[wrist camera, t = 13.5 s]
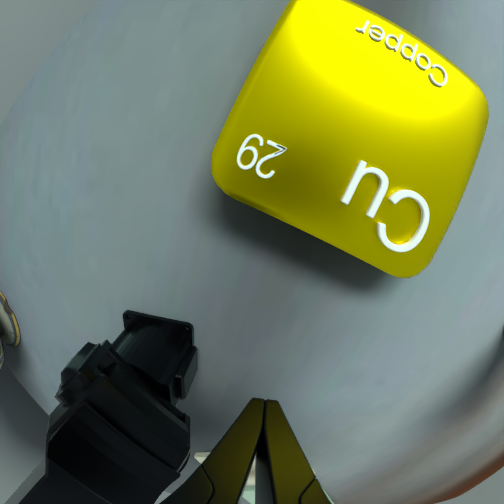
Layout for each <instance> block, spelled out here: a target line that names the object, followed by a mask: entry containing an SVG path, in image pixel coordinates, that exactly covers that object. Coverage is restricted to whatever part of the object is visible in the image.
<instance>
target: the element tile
mask: <svg viewBox="0 0 504 504" xmlns="http://www.w3.org/2000/svg"><path fill="white" fill-rule="evenodd" d="M488 118H489V110H488V103H487V100H486V98H485V95H484V94H483V92H482V90H481V89H480V87H479V86H478V85H477V84H476V83H475V82H474V81H473V80H472V79H471V78H470V77H469V76H468V75H467V74H466V73H464V72H463V71H462V70H461V69H460V68H458V67H457V66H456V65H455V64H453V63H452V62H451V61H450V60H448V59H447V58H446V57H444V56H443V55H442V54H440V53H439V52H438V51H436V50H435V49H434V48H432V47H431V46H429V45H428V44H426V43H425V42H424V41H422V40H421V39H419V38H418V37H416V36H414V35H413V34H411V33H410V32H408V31H407V30H405V29H403V28H402V27H400V26H398V25H397V24H395V23H393V22H391V21H390V20H388V19H386V18H384V17H382V16H380V15H379V14H377V13H375V12H373V11H371V10H369V9H367V8H365V7H363V6H361V5H358V4H356V3H354V2H352V1H350V0H291V1H290V2H289V3H288V5H287V6H286V8H285V10H284V11H283V13H282V15H281V16H280V18H279V20H278V22H277V23H276V25H275V27H274V29H273V30H272V32H271V34H270V36H269V37H268V39H267V41H266V43H265V45H264V47H263V48H262V50H261V52H260V54H259V56H258V58H257V60H256V61H255V63H254V65H253V67H252V69H251V71H250V73H249V75H248V77H247V79H246V81H245V83H244V85H243V87H242V89H241V91H240V93H239V95H238V97H237V99H236V101H235V103H234V105H233V108H232V110H231V112H230V114H229V116H228V118H227V120H226V122H225V125H224V127H223V129H222V131H221V133H220V136H219V138H218V140H217V142H216V145H215V147H214V149H213V152H212V157H211V173H212V175H213V178H214V180H215V183H216V184H217V185H218V186H219V187H220V188H221V190H222V191H223V192H224V193H226V194H227V195H229V196H230V197H232V198H233V199H235V200H238V201H240V202H242V203H244V204H246V205H249V206H251V207H253V208H255V209H257V210H260V211H262V212H264V213H266V214H268V215H270V216H273V217H275V218H277V219H279V220H281V221H283V222H285V223H288V224H290V225H292V226H294V227H296V228H298V229H300V230H302V231H304V232H306V233H308V234H311V235H313V236H315V237H317V238H319V239H321V240H323V241H325V242H327V243H329V244H331V245H333V246H335V247H337V248H339V249H341V250H343V251H345V252H347V253H349V254H351V255H353V256H355V257H357V258H359V259H361V260H363V261H365V262H367V263H369V264H370V265H372V266H374V267H376V268H378V269H380V270H382V271H384V272H386V273H388V274H390V275H393V276H396V277H399V278H410V277H413V276H415V275H418V274H419V273H420V272H421V271H422V270H424V269H425V268H426V267H427V266H428V264H429V263H430V262H431V260H432V258H433V256H434V254H435V253H436V251H437V249H438V247H439V245H440V243H441V241H442V239H443V237H444V235H445V233H446V231H447V229H448V227H449V225H450V223H451V221H452V219H453V216H454V214H455V212H456V210H457V208H458V205H459V203H460V201H461V198H462V196H463V194H464V191H465V189H466V186H467V184H468V181H469V179H470V176H471V173H472V171H473V168H474V165H475V162H476V159H477V156H478V154H479V151H480V147H481V144H482V141H483V138H484V135H485V131H486V128H487V124H488Z"/></svg>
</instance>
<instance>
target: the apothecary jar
mask: <svg viewBox="0 0 504 504" xmlns="http://www.w3.org/2000/svg"><path fill="white" fill-rule="evenodd" d="M1 340H2V341H3V342H4V343H6V344H7V345H9V346H13V347H14V346H17V345H18V344H19V341H20V332H19V327H18V324H17V321H16V318H15V316H14V313H13V312H12V310H11V309H10V308H9V307H8V305H7V301H6V299H5V297H4V295H3V294H2V293H1V291H0V370H1V369H2V367H3V364H4V349H3V344H2V341H1Z"/></svg>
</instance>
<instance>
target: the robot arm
mask: <svg viewBox="0 0 504 504" xmlns="http://www.w3.org/2000/svg"><path fill="white" fill-rule="evenodd" d="M128 315H129V316H130V317H128ZM123 321H124V328H125V329H124V331H123V332H122V333H121V334H120V335H119V336H118V337H117V339H116V340H115V341H114V342H113V343H112V344H110V343H109V341H108V340H105V341H104V342H103V343H102V344H101V345H100V343H99V344H98V345H97V344H96V345H95V344H92V343H89V342H88V343H87V344H86V345H85V346H84V347H83V348H82V349H81V350H80V351H79V352H78V353H77V354H76V355H75V356H74V357H73V358H72V359H71V361H70V362H69V363H68V364H67V366H66V367H65V368H64V369H63V371H62V372H61V382H62V383H61V384H60V386H59V390H58V392H57V393H56V395H55V398H56V399H57V400H58V401H59V402H60V404H59V405H58V406H57V407H56V408H55V409H54V411H53V412H52V413H51V414H50V418H49V424H48V430H47V441H46V457H45V458H44V459H43V460H42V461H41V463H40V464H39V465H38V466H37V467H36V468H35V469H34V470H33V472H32V473H31V474H30V475H29V476H28V477H27V479H26V480H25V481H24V482H23V483H22V484H21V485H20V486H19V488H18V489H17V490H16V491H15V492H14V493H13V495H12V496H11V497H10V498H9V499H8V500H7V501H6V503H5V504H154V503H155V501H156V500H157V498H158V497H159V496H160V494H161V493H162V492H163V491H164V490H165V489H166V488H167V487H168V486H169V485H170V484H171V483H172V482H174V481H175V480H176V479H178V478H179V477H180V472H181V471H182V470H183V468H184V467H185V465H186V464H187V462H188V459H189V456H190V417H189V416H188V415H186V414H185V413H182V412H181V411H180V410H178V409H177V408H176V407H175V405H176V403H177V401H178V399H181V400H183V399H185V398H186V396H187V393H188V391H189V388H190V386H191V383H192V381H193V378H194V376H195V373H196V371H197V348H196V347H195V346H194V328H193V326H192V324H190V323H188V322H183V321H178V320H173V319H168V318H163V317H158V316H153V315H148V314H144V313H139V312H135V311H130V310H127V311H125V312H124V313H123ZM185 327H187V328H188V329H189V330H187V329H186V328H185ZM255 455H256V457H255ZM254 458H255V504H332V503H331V502H330V500H329V499H328V497H327V496H326V494H325V492H324V490H323V489H322V487H321V485H320V483H319V481H318V479H315V478H316V476H315V474H314V472H313V470H312V468H311V466H310V464H309V462H308V460H307V458H306V457H305V455H304V453H303V451H302V449H301V447H300V445H299V443H298V441H297V439H296V437H295V435H294V433H293V431H292V429H291V427H290V425H289V423H288V420H287V418H286V416H285V414H284V412H283V410H282V408H281V406H280V404H279V402H278V401H277V400H269V399H267V400H264V399H261V398H252V399H251V400H250V401H249V403H248V404H247V406H246V407H245V408H244V410H243V411H242V412H241V414H240V415H239V416H238V418H237V419H236V420H235V422H234V423H233V424H232V426H231V427H230V428H229V430H228V431H227V432H226V434H225V435H224V436H223V437H222V439H221V440H220V441H219V442H218V444H217V445H216V446H215V447H214V449H213V450H212V451H211V452H210V454H209V455H208V456H207V457H206V459H205V460H204V461H203V462H202V463H201V466H199V467H198V468H197V469H196V470H195V472H194V473H193V474H192V475H191V476H190V477H189V478H188V479H187V480H186V481H185V482H184V483H183V484H182V485H181V486H180V487H179V488H178V489H177V490H176V491H174V492H173V493H172V494H171V495H170V496H168V497H167V498H166V499H165V500H163V501H162V502H161V503H160V504H240V502H241V499H242V496H243V493H244V490H245V487H246V484H247V481H248V478H249V475H250V471H251V468H252V465H253V462H254Z"/></svg>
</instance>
